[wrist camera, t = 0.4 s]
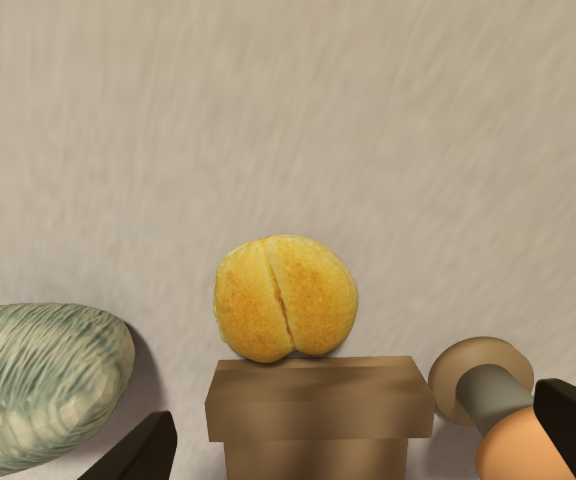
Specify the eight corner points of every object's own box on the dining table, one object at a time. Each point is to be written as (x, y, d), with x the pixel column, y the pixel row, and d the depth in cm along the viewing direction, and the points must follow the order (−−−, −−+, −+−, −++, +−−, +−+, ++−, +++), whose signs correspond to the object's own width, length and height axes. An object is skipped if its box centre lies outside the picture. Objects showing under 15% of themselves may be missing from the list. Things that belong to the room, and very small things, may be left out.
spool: (-58, 431, 21) (-224, 629, 12) (-127, 307, 18) (-407, 442, 9) (153, 362, 26) (148, 469, 16) (122, 255, 23) (95, 312, 14)
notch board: (410, 356, 22) (436, 398, 18) (393, 528, 27) (410, 590, 23) (218, 360, 22) (204, 403, 18) (236, 531, 27) (228, 593, 23)
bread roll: (361, 332, 21) (374, 374, 17) (236, 349, 22) (222, 392, 18) (345, 218, 19) (357, 237, 15) (206, 241, 20) (183, 265, 16)
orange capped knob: (531, 335, 22) (641, 417, 15) (514, 414, 24) (604, 518, 17) (433, 337, 22) (498, 420, 15) (423, 416, 24) (477, 520, 17)
